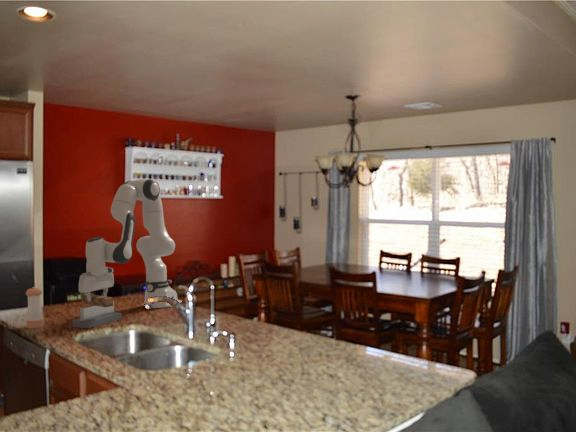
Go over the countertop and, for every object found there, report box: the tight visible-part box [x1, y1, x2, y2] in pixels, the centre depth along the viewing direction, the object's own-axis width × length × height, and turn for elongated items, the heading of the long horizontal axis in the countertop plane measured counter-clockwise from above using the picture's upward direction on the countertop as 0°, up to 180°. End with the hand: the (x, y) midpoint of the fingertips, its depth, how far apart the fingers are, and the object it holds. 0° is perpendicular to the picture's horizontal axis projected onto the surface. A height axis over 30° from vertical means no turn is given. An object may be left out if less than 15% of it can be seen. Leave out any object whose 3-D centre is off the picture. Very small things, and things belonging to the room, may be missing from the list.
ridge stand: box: [72, 300, 123, 330], centre depth 269 cm, size 22×10×9 cm, turn 155°
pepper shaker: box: [25, 286, 44, 329], centre depth 263 cm, size 7×7×19 cm
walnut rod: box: [81, 293, 114, 307], centre depth 269 cm, size 20×4×4 cm, turn 52°
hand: (97, 299), depth 269 cm, fingers open, 8 cm apart
